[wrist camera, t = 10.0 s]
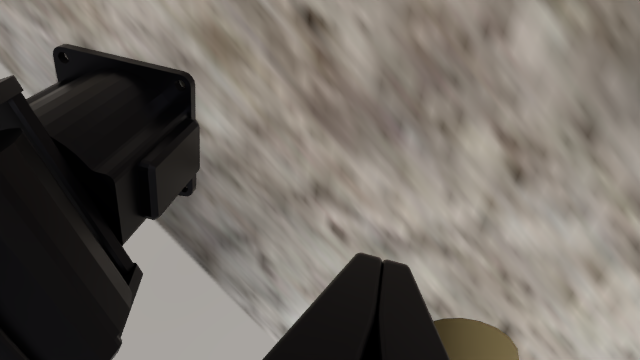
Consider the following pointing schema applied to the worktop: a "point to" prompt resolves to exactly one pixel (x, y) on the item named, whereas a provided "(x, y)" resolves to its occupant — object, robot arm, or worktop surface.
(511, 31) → the worktop surface
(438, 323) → the olive tapered cylinder
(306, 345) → the robot arm
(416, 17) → the worktop surface
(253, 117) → the worktop surface
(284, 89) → the worktop surface
